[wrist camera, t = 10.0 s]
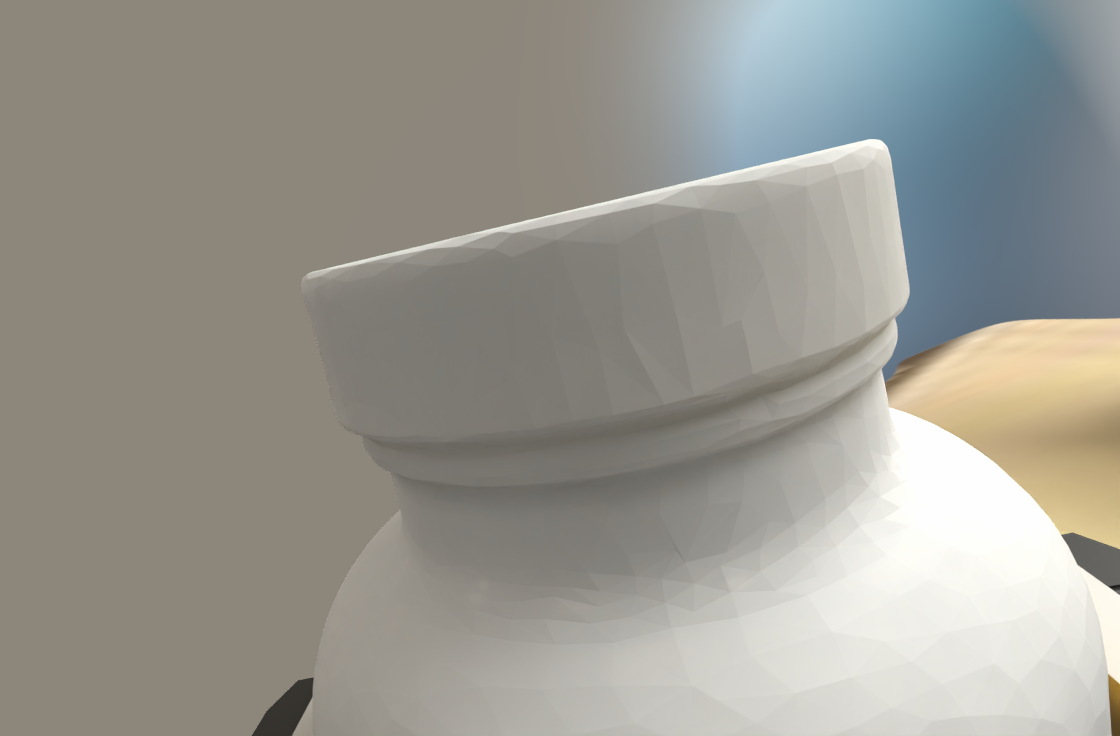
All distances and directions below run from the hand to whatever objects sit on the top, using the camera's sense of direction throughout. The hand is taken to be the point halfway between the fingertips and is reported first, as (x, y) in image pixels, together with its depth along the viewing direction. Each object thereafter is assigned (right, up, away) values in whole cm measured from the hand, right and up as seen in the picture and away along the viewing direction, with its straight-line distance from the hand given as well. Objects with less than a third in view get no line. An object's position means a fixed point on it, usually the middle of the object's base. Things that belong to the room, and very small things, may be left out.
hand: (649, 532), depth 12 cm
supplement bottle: (+1, -8, -3) cm, 9 cm away
